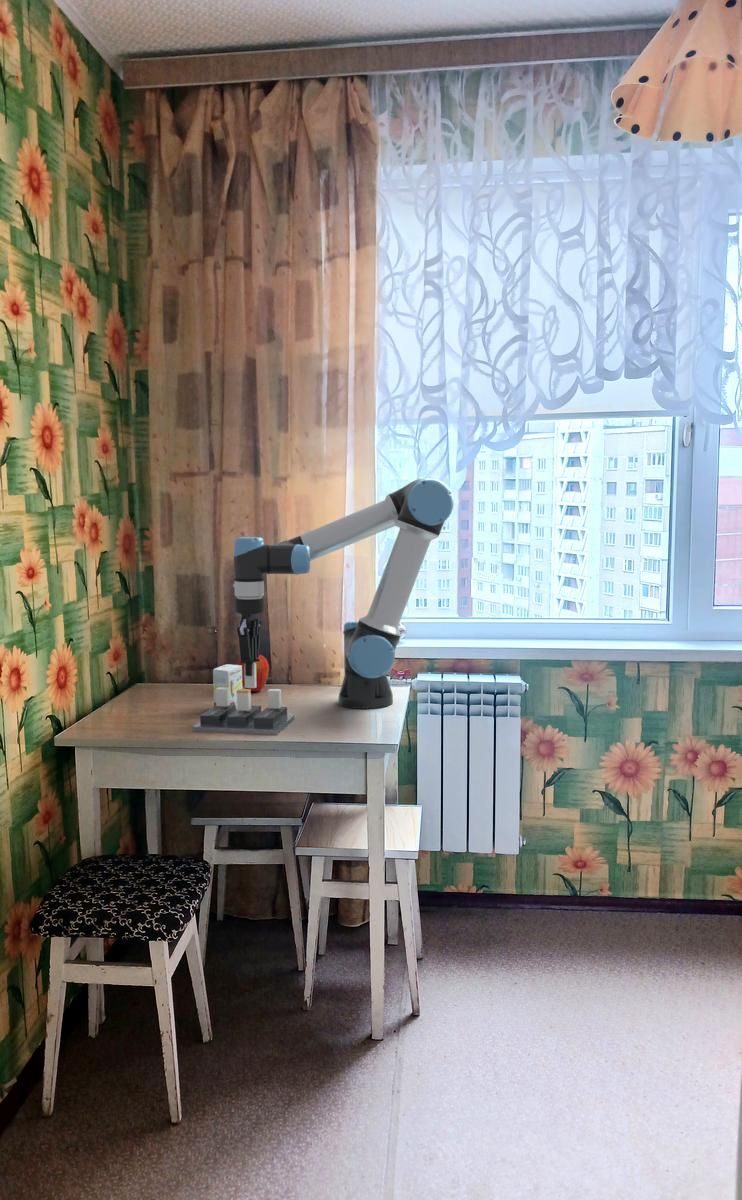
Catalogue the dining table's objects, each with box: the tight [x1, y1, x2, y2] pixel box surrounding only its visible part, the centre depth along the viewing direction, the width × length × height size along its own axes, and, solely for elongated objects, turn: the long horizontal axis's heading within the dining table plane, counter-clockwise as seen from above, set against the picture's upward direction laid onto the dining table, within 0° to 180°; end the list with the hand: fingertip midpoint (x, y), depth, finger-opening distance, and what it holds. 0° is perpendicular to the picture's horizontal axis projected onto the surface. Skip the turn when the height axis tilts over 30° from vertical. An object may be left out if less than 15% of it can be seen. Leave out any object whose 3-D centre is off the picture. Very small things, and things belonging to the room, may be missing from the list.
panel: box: [191, 704, 296, 736], centre depth 232 cm, size 22×15×4 cm
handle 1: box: [216, 687, 230, 706], centre depth 237 cm, size 3×2×4 cm, turn 78°
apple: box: [237, 654, 270, 692], centre depth 270 cm, size 9×9×12 cm
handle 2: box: [267, 688, 283, 708], centre depth 234 cm, size 3×2×4 cm, turn 78°
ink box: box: [212, 663, 243, 710], centre depth 248 cm, size 9×5×12 cm, turn 161°
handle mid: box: [237, 688, 252, 711], centre depth 232 cm, size 3×2×5 cm, turn 78°
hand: (250, 687), depth 238 cm, fingers closed
